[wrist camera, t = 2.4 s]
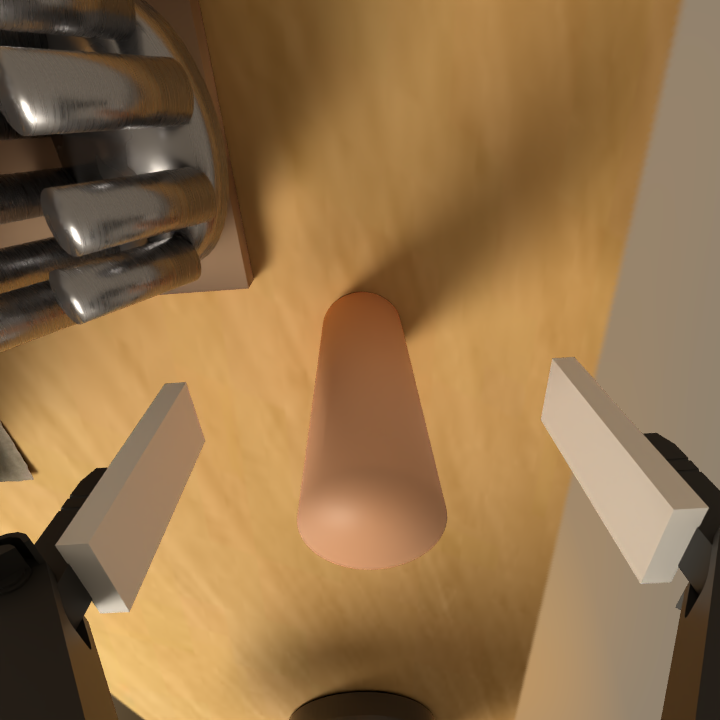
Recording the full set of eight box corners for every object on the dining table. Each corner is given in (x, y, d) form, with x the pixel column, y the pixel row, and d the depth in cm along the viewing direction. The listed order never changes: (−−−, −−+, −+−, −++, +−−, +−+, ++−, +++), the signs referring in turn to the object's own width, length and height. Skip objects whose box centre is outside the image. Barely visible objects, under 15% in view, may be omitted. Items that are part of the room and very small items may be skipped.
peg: (401, 360, 23) (445, 565, 12) (327, 365, 23) (307, 573, 12) (400, 289, 21) (450, 462, 10) (318, 294, 21) (286, 471, 10)
